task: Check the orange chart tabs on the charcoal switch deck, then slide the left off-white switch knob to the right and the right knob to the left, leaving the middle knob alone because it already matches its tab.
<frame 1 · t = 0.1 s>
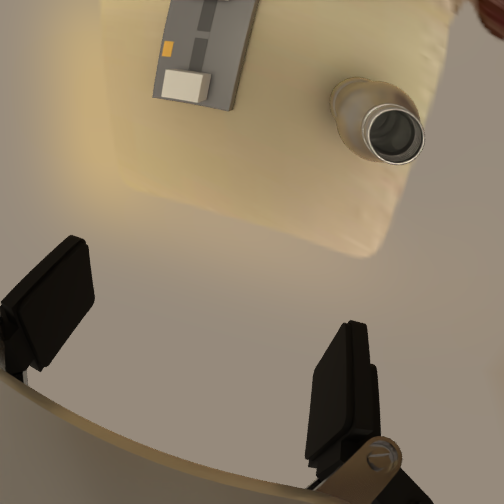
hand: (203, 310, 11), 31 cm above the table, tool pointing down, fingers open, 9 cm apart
plastic bottle: (356, 102, 33), on the table
switch deck: (215, 5, 29), on the table
slider c: (186, 84, 32), point 4 cm above the table, slide at 2.0 cm
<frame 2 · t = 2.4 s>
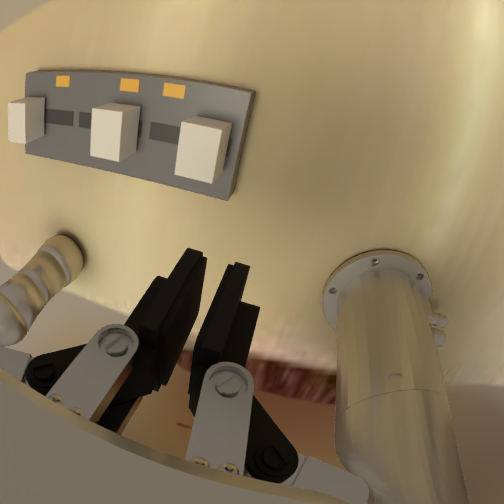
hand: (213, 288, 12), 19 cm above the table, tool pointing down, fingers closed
plastic bottle: (71, 249, 39), on the table
slider b: (114, 130, 25), point 4 cm above the table, slide at -2.0 cm
slider a: (203, 148, 24), point 4 cm above the table, slide at -2.0 cm
switch deck: (119, 119, 28), on the table
slider c: (25, 119, 25), point 4 cm above the table, slide at 2.0 cm
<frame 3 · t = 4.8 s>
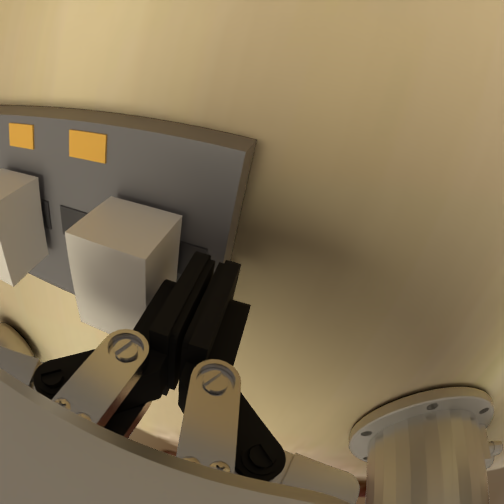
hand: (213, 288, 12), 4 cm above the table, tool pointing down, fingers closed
plastic bottle: (20, 336, 27), on the table
slider b: (4, 224, 12), point 4 cm above the table, slide at -2.0 cm
slider a: (126, 272, 12), point 4 cm above the table, slide at -1.1 cm, touching gripper
switch deck: (29, 186, 15), on the table
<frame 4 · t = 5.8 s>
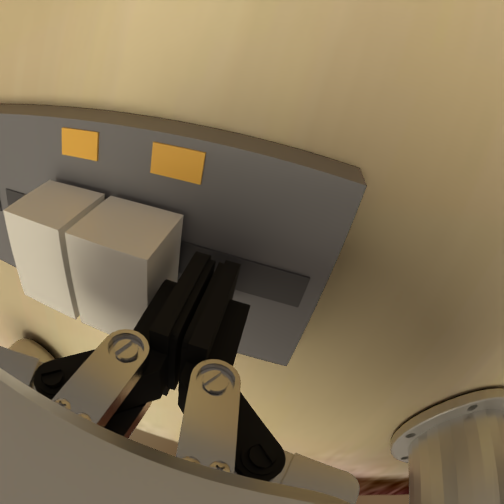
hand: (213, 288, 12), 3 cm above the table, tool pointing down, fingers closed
plastic bottle: (45, 352, 26), on the table
slider b: (58, 247, 12), point 4 cm above the table, slide at -2.0 cm
slider a: (126, 272, 12), point 4 cm above the table, slide at 3.0 cm, touching gripper
switch deck: (76, 199, 15), on the table
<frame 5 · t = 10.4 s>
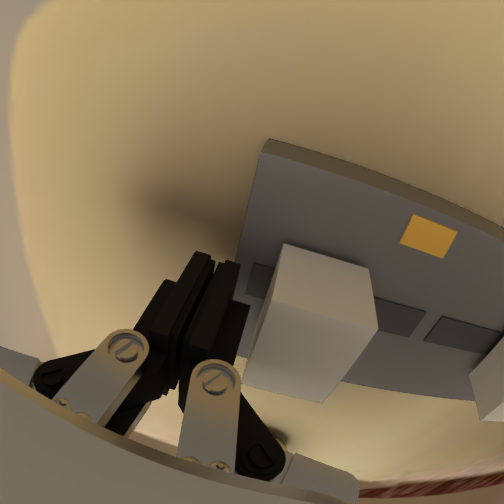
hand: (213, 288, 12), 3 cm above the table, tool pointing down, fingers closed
switch deck: (475, 314, 14), on the table
slider c: (305, 328, 11), point 4 cm above the table, slide at 1.4 cm, touching gripper
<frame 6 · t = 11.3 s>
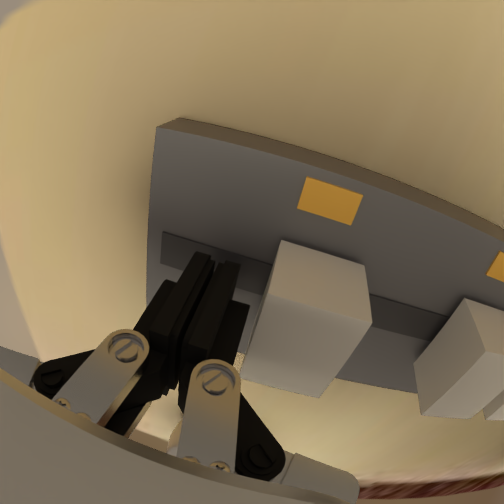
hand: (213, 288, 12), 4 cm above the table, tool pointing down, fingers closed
slider b: (469, 364, 11), point 4 cm above the table, slide at -2.0 cm
switch deck: (421, 298, 14), on the table
slider c: (302, 323, 11), point 4 cm above the table, slide at -2.4 cm, touching gripper
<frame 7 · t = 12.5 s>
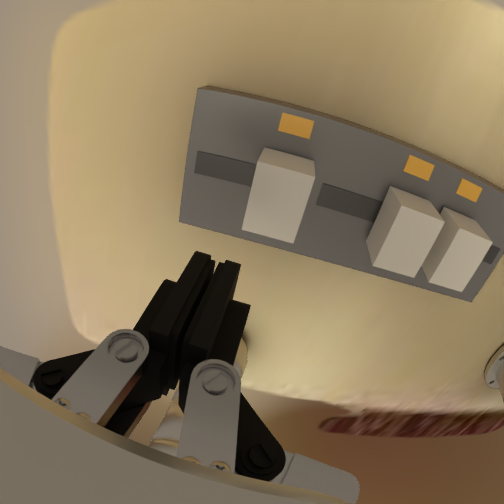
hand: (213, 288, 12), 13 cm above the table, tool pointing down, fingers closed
plastic bottle: (221, 336, 33), on the table
slider b: (403, 232, 19), point 4 cm above the table, slide at -2.0 cm
slider a: (454, 250, 19), point 4 cm above the table, slide at 2.1 cm
switch deck: (367, 198, 22), on the table
slider c: (278, 194, 19), point 4 cm above the table, slide at -2.1 cm
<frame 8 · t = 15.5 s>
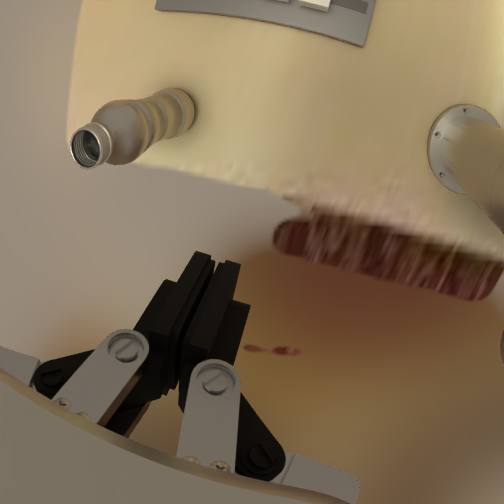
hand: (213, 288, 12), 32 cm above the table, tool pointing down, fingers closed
plastic bottle: (177, 109, 40), on the table
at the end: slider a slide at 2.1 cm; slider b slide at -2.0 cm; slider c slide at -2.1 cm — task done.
